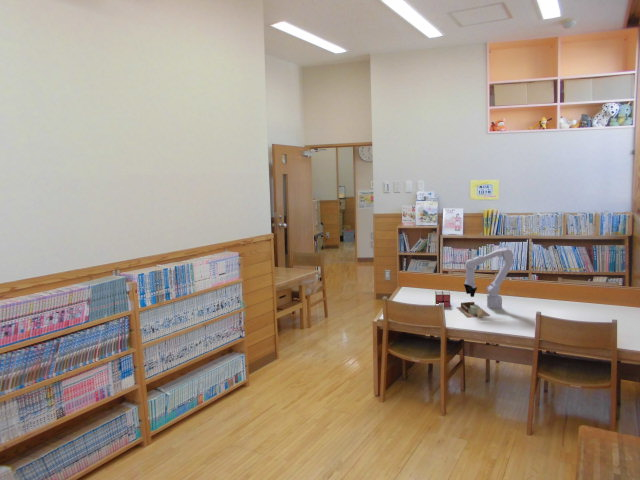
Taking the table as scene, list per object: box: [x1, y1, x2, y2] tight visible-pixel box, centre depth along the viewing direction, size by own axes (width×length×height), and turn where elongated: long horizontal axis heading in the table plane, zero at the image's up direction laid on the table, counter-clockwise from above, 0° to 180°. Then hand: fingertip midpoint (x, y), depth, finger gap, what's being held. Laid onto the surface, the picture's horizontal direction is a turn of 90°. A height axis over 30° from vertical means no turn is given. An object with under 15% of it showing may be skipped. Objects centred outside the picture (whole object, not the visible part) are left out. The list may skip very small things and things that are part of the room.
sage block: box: [470, 304, 483, 318], centre depth 314 cm, size 5×12×6 cm, turn 3°
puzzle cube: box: [434, 290, 451, 308], centre depth 339 cm, size 10×10×10 cm
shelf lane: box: [455, 301, 491, 318], centre depth 321 cm, size 16×22×4 cm
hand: (470, 295), depth 330 cm, fingers open, 7 cm apart
